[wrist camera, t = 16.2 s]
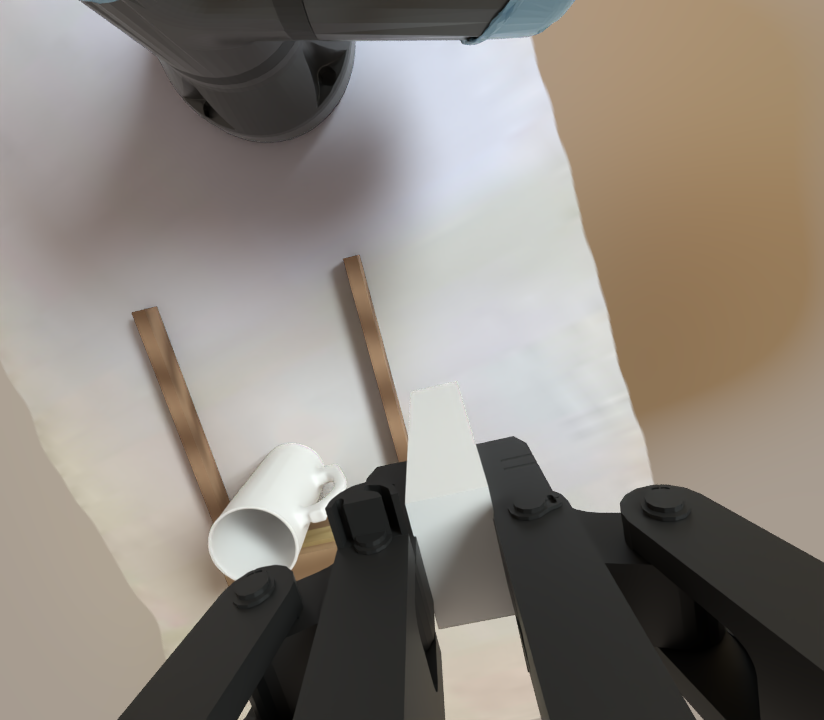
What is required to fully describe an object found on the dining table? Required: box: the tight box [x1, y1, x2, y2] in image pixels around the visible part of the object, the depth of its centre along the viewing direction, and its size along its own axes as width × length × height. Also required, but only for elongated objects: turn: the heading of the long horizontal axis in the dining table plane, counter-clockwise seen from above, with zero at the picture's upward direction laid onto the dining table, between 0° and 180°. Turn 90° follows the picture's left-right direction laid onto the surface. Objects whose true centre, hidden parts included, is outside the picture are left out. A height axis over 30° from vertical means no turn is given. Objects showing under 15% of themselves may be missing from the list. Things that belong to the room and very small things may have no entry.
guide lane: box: [132, 255, 408, 523], centre depth 44 cm, size 24×20×2 cm
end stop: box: [224, 517, 337, 586], centre depth 45 cm, size 3×17×6 cm, turn 104°
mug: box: [208, 443, 347, 581], centre depth 40 cm, size 10×7×12 cm, turn 110°
